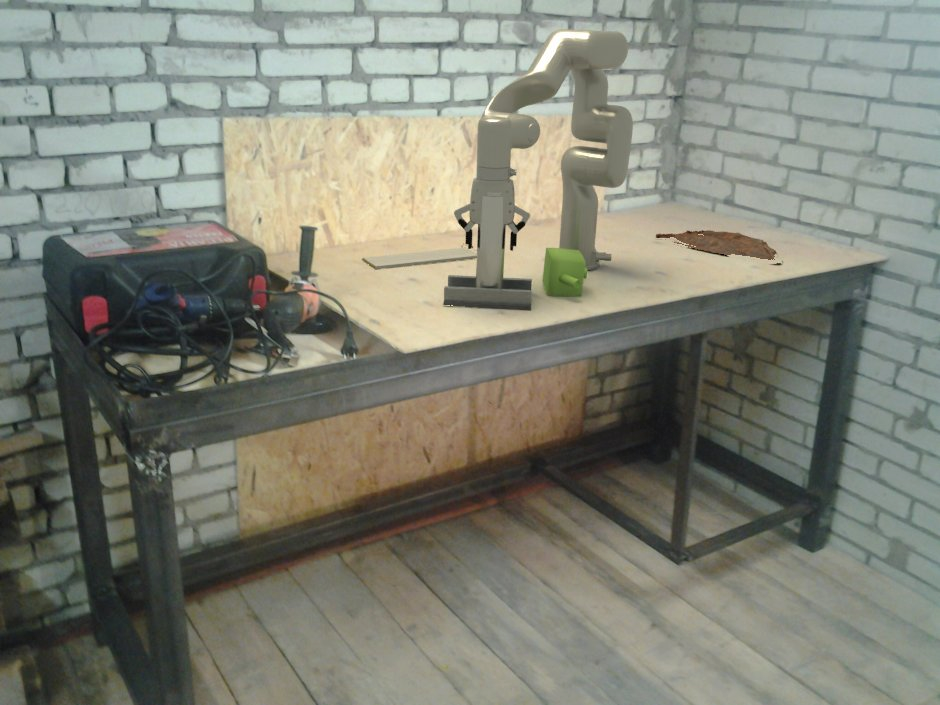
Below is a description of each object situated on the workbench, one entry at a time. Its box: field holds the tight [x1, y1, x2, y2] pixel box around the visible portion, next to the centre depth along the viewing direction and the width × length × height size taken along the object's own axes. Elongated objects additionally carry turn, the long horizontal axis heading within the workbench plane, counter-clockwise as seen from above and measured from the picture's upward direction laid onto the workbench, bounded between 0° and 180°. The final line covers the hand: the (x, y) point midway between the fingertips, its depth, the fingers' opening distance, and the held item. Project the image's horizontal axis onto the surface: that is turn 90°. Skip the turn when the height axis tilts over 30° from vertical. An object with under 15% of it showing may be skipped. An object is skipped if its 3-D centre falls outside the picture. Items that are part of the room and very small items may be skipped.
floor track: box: [442, 274, 533, 311], centre depth 205 cm, size 20×13×4 cm, turn 86°
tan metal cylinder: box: [475, 192, 507, 289], centre depth 201 cm, size 6×6×25 cm
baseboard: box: [361, 243, 477, 270], centre depth 239 cm, size 31×3×12 cm
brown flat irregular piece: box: [655, 229, 782, 265], centre depth 261 cm, size 40×28×5 cm
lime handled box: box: [542, 247, 588, 297], centre depth 212 cm, size 18×10×10 cm, turn 2°
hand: (490, 248), depth 201 cm, fingers open, 9 cm apart
